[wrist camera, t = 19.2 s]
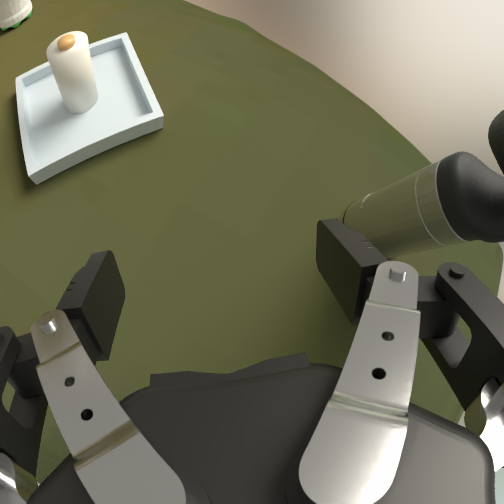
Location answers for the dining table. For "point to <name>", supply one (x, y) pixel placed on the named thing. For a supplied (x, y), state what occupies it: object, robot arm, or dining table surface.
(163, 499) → the robot arm
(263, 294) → the dining table surface
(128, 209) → the dining table surface
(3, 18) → the cup
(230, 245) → the dining table surface
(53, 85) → the pale blue square tray
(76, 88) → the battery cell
